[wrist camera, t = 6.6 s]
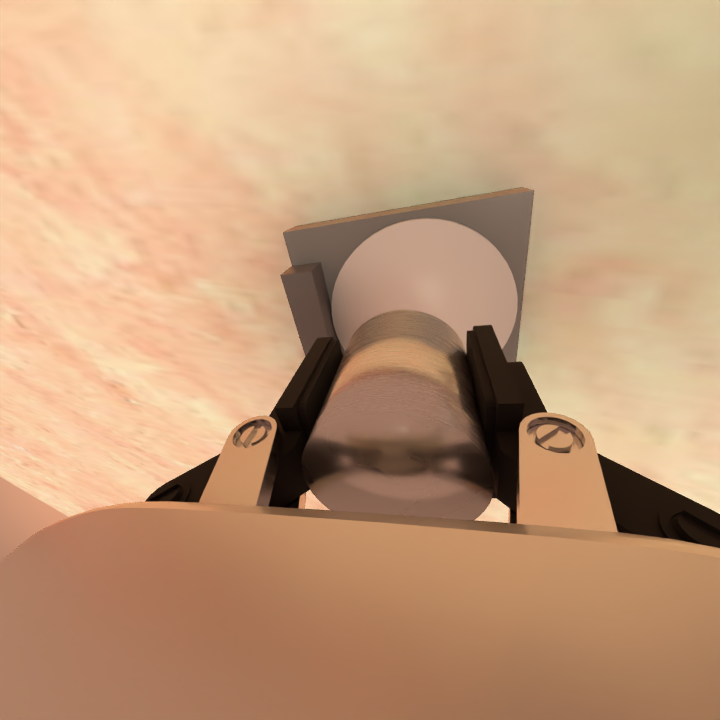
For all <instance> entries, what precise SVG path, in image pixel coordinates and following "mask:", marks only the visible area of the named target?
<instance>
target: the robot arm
mask: <svg viewBox="0 0 720 720" xmlns="http://www.w3.org/2000/svg"><path fill="white" fill-rule="evenodd" d="M466 355H467V360H468V364H469V369H470V373H471V378H472V382H473V387H474V391H475V396H476V400H477V405H478V409H479V414H480V418H481V423H482V428H483V432H484V437H485V441H486V445H487V449H488V454H489V458H490V463H491V467H492V472H493V476H494V492H493V497H492V498H497V499H498V500H500V501H501V502H502V503H504V504H505V505H506V506H507V507H509V517H508V523H500V522H486V521H473V520H459V519H445V518H432V517H418V516H403V515H389V514H374V513H359V512H345V511H330V510H315V509H305V503H306V492H307V491H308V490H310V488H309V487H308V485H307V483H306V481H305V479H304V475H303V472H302V465H301V464H302V455H303V451H304V448H305V446H306V444H307V441H308V439H309V436H310V434H311V432H312V429H313V427H314V425H315V422H316V420H317V417H318V415H319V413H320V410H321V408H322V405H323V403H324V401H325V398H326V396H327V394H328V391H329V389H330V386H331V384H332V382H333V379H334V377H335V374H336V372H337V370H338V367H339V365H340V363H341V360H342V358H343V355H342V351H341V346H340V343H339V341H338V340H334V338H333V337H322V338H317V339H316V341H315V342H314V344H313V345H312V347H311V349H310V350H309V352H308V354H307V355H306V357H305V359H304V360H303V362H302V363H301V365H300V367H299V368H298V370H297V372H296V373H295V375H294V376H293V378H292V380H291V381H290V383H289V385H288V386H287V388H286V389H285V391H284V393H283V394H282V396H281V398H280V399H279V401H278V403H277V404H276V406H275V407H274V409H273V411H272V412H271V414H270V416H257V417H253V418H250V419H248V420H246V421H244V422H242V423H241V424H239V425H238V426H236V427H235V428H234V429H233V430H232V431H231V433H230V435H229V436H228V438H227V440H226V443H225V445H224V447H223V449H222V452H221V454H219V455H217V456H215V457H213V458H211V459H210V460H208V461H206V462H204V463H202V464H200V465H199V466H197V467H195V468H193V469H191V470H189V471H188V472H186V473H184V474H182V475H180V476H178V477H177V478H175V479H173V480H171V481H169V482H167V483H166V484H164V485H163V486H161V487H159V488H158V489H157V490H156V491H155V492H153V493H152V494H151V495H150V496H149V497H148V499H147V500H146V501H145V502H134V503H123V504H117V505H112V506H106V507H101V508H96V509H93V510H89V511H86V512H83V513H80V514H76V515H73V516H70V517H68V518H65V519H63V520H60V521H58V522H56V523H54V524H51V525H49V526H48V527H45V528H43V529H42V530H40V531H38V532H37V533H35V534H34V535H32V536H31V537H30V538H28V539H27V540H26V541H24V542H23V543H22V544H21V545H19V546H18V547H17V548H16V549H15V550H13V552H11V553H10V554H9V555H7V556H6V557H5V558H4V559H3V560H2V561H1V562H0V720H720V514H718V513H716V512H715V511H713V510H711V509H709V508H707V507H705V506H703V505H701V504H699V503H697V502H695V501H693V500H691V499H689V498H687V497H685V496H683V495H681V494H678V493H676V492H674V491H672V490H670V489H668V488H666V487H664V486H662V485H660V484H658V483H656V482H654V481H652V480H650V479H648V478H646V477H644V476H642V475H640V474H638V473H636V472H634V471H632V470H630V469H628V468H626V467H624V466H622V465H620V464H618V463H616V462H614V461H612V460H610V459H608V458H606V457H604V456H602V455H600V454H598V453H597V451H596V447H595V443H594V439H593V437H592V435H591V433H590V432H589V431H588V430H587V429H586V428H585V427H584V426H583V425H582V424H580V423H579V422H577V421H576V420H574V419H572V418H569V417H567V416H564V415H560V414H555V413H547V411H546V409H545V407H544V405H543V403H542V401H541V399H540V397H539V395H538V393H537V391H536V389H535V387H534V385H533V383H532V381H531V379H530V377H529V375H528V373H527V371H526V369H525V366H524V365H523V363H522V362H507V360H506V358H505V356H504V353H503V351H502V349H501V346H500V344H499V341H498V339H497V337H496V334H495V332H494V329H493V327H492V325H480V326H473V330H470V331H467V338H466Z"/></svg>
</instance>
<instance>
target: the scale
mask: <svg viewBox="0 0 720 720" xmlns="http://www.w3.org/2000/svg"><path fill="white" fill-rule="evenodd" d="M533 196H534V190H531V189H527V188H523V187H521V188H515V189H510V190H504V191H498V192H492V193H486V194H480V195H475V196H469V197H463V198H457V199H451V200H446V201H440V202H434V203H428V204H422V205H416V206H411V207H405V208H399V209H393V210H387V211H382V212H376V213H370V214H364V215H358V216H352V217H347V218H341V219H335V220H329V221H323V222H318V223H312V224H306V225H300V226H295V227H293V228H291V229H289V230H287V231H285V232H283V235H284V238H285V242H286V245H287V249H288V252H289V256H290V259H291V263H292V267H290V268H289V269H288V270H287V271H285V272H284V273H283V274H281V279H282V282H283V285H284V288H285V291H286V295H287V298H288V301H289V304H290V308H291V311H292V314H293V317H294V321H295V324H296V327H297V330H298V334H299V338H300V340H301V343H302V346H303V350H304V353H305V356H306V355H307V354H308V352H309V350H310V349H311V347H312V345H313V344H314V342H315V341H316V339H317V338H322V337H333V338H334V340H338V341H339V343H340V346H341V351H342V355H344V353H345V351H346V348H347V346H348V343H349V341H350V339H351V337H352V336H353V334H354V333H355V331H356V330H357V329H358V328H359V327H360V326H361V325H362V324H363V323H365V322H366V321H367V320H369V319H371V318H372V317H374V316H377V315H379V314H381V313H385V312H388V311H394V310H415V311H420V312H424V313H427V314H430V315H433V316H435V317H437V318H439V319H441V320H442V321H444V322H445V323H447V324H448V325H449V326H450V327H451V328H452V329H453V330H454V331H455V332H456V333H457V334H458V336H459V337H460V339H461V341H462V342H463V345H464V347H465V350H466V338H467V331H470V330H473V326H480V325H492V327H493V329H494V332H495V334H496V337H497V339H498V341H499V344H500V346H501V349H502V351H503V353H504V356H505V358H506V360H507V362H516V357H517V348H518V338H519V329H520V319H521V310H522V300H523V291H524V281H525V272H526V262H527V253H528V243H529V234H530V225H531V215H532V206H533Z"/></svg>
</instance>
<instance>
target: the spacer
mask: <svg viewBox="0 0 720 720" xmlns="http://www.w3.org/2000/svg"><path fill="white" fill-rule="evenodd" d="M301 465H302V472H303V475H304V479H305V481H306V483H307V485H308V487H309V488H310V490H311V491H312V493H313V494H314V495H315V496H316V498H317V499H318V500H319V501H320V502H321V503H322V504H324V505H325V506H326V507H327V508H328V509H330V510H331V511H345V512H359V513H374V514H389V515H403V516H418V517H432V518H445V519H459V520H475V519H476V518H477V517H479V516H480V515H481V514H482V513H483V512H484V511H485V509H486V508H487V507H488V505H489V504H490V501H491V499H492V497H493V492H494V476H493V472H492V467H491V463H490V458H489V454H488V449H487V445H486V441H485V437H484V432H483V428H482V423H481V418H480V414H479V409H478V405H477V400H476V396H475V391H474V387H473V382H472V378H471V373H470V369H469V364H468V360H467V355H466V350H465V347H464V345H463V342H462V341H461V339H460V337H459V336H458V334H457V333H456V332H455V331H454V330H453V329H452V328H451V327H450V326H449V325H448V324H447V323H445V322H444V321H442V320H441V319H439V318H437V317H435V316H433V315H430V314H427V313H424V312H420V311H415V310H394V311H388V312H385V313H381V314H379V315H377V316H374V317H372V318H371V319H369V320H367V321H366V322H365V323H363V324H362V325H361V326H360V327H359V328H358V329H357V330H356V331H355V333H354V334H353V336H352V337H351V339H350V341H349V343H348V346H347V348H346V351H345V353H344V355H343V358H342V360H341V363H340V365H339V367H338V370H337V372H336V374H335V377H334V379H333V382H332V384H331V386H330V389H329V391H328V394H327V396H326V398H325V401H324V403H323V405H322V408H321V410H320V413H319V415H318V417H317V420H316V422H315V425H314V427H313V429H312V432H311V434H310V436H309V439H308V441H307V444H306V446H305V448H304V451H303V455H302V464H301Z"/></svg>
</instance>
